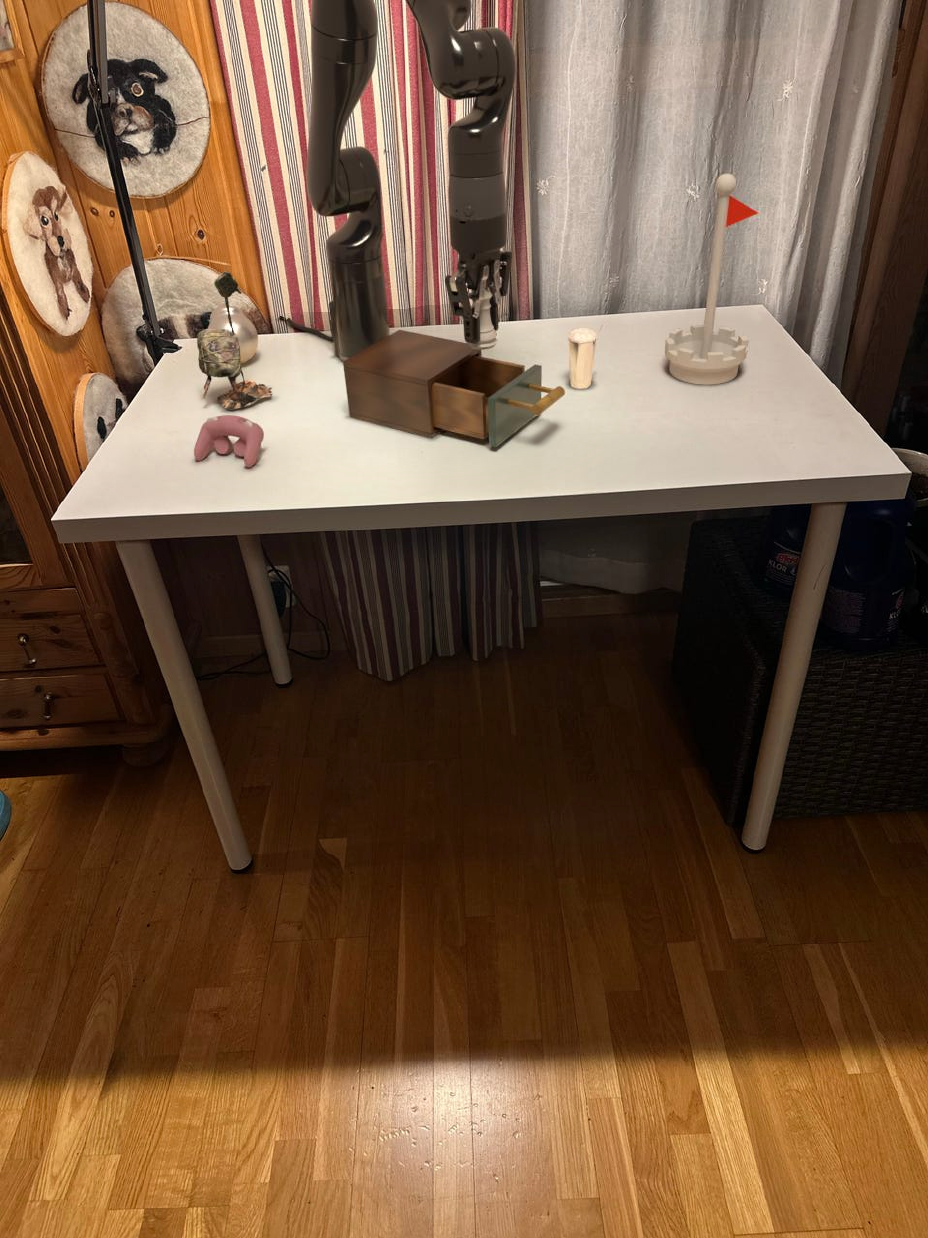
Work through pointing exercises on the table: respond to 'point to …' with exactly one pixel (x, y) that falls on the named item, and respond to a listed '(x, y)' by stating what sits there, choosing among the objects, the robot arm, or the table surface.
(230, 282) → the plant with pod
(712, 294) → the flag stand
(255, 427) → the video game controller
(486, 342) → the rook chess piece
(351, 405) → the cabinet
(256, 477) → the table surface
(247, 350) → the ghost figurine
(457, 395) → the drawer
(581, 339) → the milkshake
